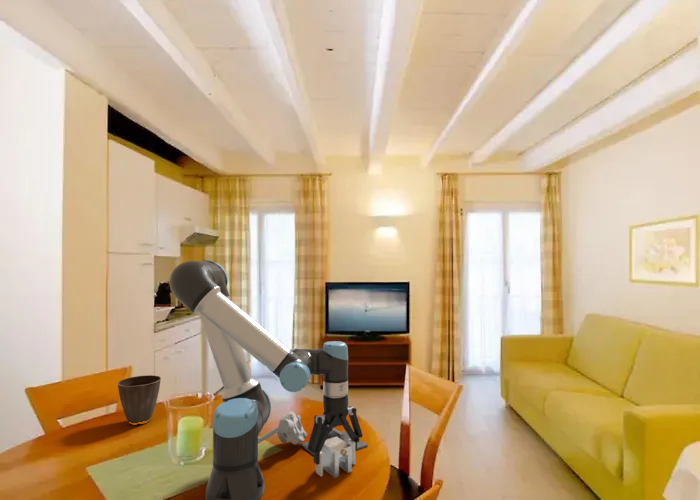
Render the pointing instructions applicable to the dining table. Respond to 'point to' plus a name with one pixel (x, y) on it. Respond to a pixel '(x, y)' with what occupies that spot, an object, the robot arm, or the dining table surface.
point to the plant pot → (139, 397)
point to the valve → (288, 430)
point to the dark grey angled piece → (341, 435)
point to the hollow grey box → (336, 456)
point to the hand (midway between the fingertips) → (336, 468)
